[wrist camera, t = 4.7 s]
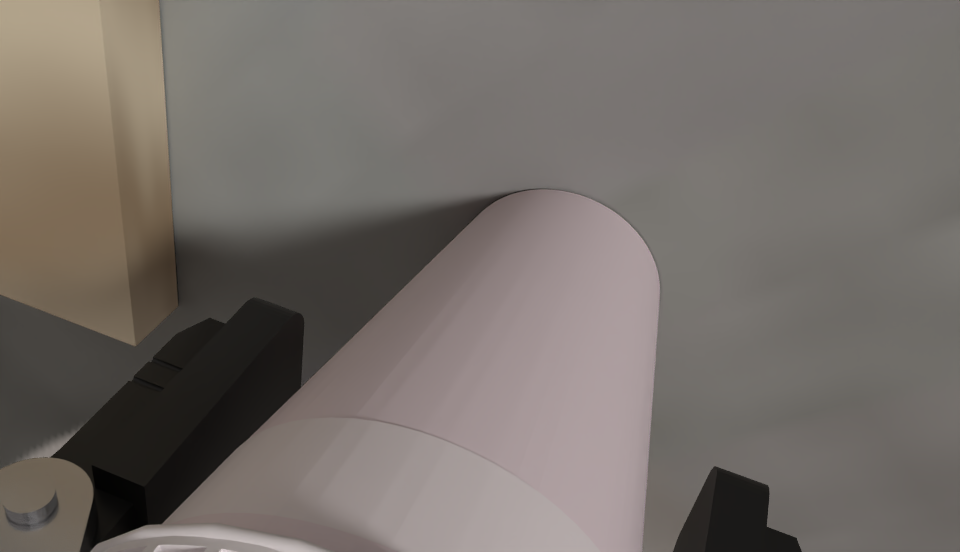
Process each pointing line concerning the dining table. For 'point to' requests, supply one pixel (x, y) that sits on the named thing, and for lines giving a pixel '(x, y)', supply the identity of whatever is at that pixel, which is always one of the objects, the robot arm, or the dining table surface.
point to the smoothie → (462, 407)
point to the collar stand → (86, 164)
